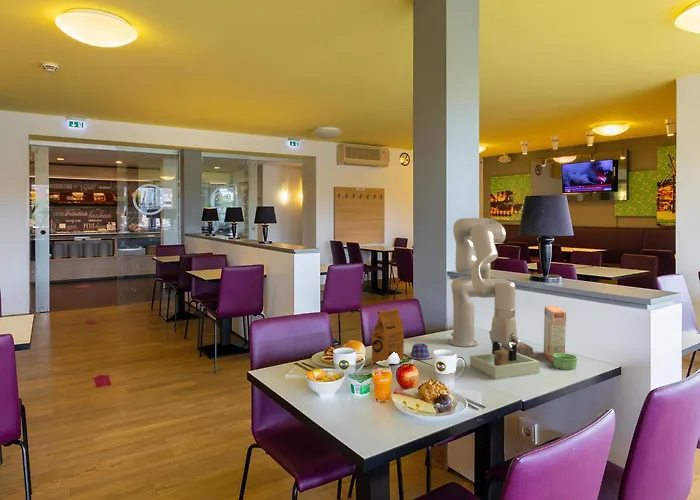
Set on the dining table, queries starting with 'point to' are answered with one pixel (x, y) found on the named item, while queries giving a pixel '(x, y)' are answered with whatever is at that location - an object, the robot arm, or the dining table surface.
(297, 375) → the dining table surface
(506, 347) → the packaged product
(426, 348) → the purple plaid hat
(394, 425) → the dining table surface
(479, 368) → the bin
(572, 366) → the ramekin
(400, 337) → the coffee package
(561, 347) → the cracker box
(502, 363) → the walnut block
